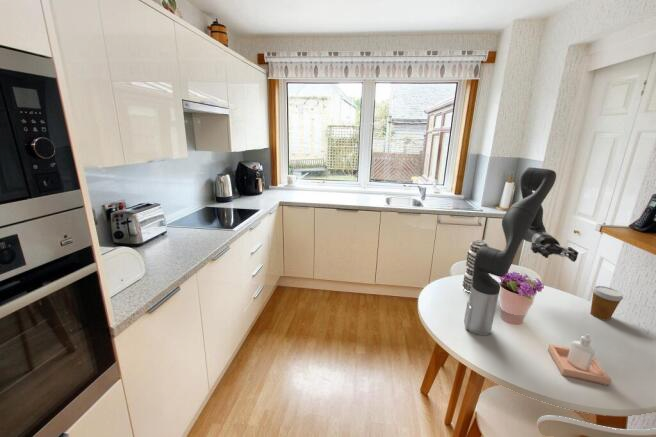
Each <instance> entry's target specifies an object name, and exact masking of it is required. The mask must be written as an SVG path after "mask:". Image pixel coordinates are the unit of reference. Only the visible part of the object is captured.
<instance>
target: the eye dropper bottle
mask: <svg viewBox="0 0 656 437" xmlns="http://www.w3.org/2000/svg"><path fill="white" fill-rule="evenodd" d="M589 336H590V334H589V333H586V334H584V335H582V336H581V337H580V340H573V341H572V343H571V345H570V347H569V348H570V351H569V354H568V357H567V361H568V362H569V363H570V364H571V365H573V366H574V367H576V368H578V369H580V370H583V371H587V370H589V368H590V365H591V362H592V359H593V357H594V355H595V349H594V347H592V346H591V342H592V339H591V338H590V337H589Z"/></svg>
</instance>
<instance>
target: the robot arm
mask: <svg viewBox="0 0 656 437" xmlns="http://www.w3.org/2000/svg"><path fill="white" fill-rule="evenodd" d="M556 180H557V173H556V172H555V170H553V169H548V168H538V167H526V168H525V169H524V170H523V171H522V174H521V177H520V181H519V182H520V184H519V185H520V193H521V198H522V199H519V200H518V201H516V202H514V203H512V204H511V205H510V206H509V208H508V209H507V210H506V212H505V214H504V215H503V217H502V220H501V226H502V232H503V234H504V239H505V242H506V243H505V248H504V250H500V249H497V248H493V247H490V246H489V247H487V246H482V247H480V248H479V250H478V251H477V254H476V257H475V263H474V271H473V278H472V288H471V293H469V300H467V302H466V309H465V312H464V318H463V319H464V320H463V322H464V323H463V324H464V328H465V330H466V331H470V332H471V333H472V334H476V335H479V336H488V335H490V334H491V332H492V328H493V324H494V318H495V314H496V310H497V309H496V308H497V304H498V301H499V297H500V291H501V284H500V283H499V281H497V280H496V279H494V277H492V276H496V277H499V278H501V277H503V278H504V277H505V276H506V275H507V274H508V272H509V270H510V269H511V266H512V264H513V262H514V259H515V257H516V255H517V251H518V250H519V247H520V246H521V243H522V241H523V240H524V241H525V242H529V243H531V244H530V250H531V251H532V253H533V254H539V255H541V256H542V257H543V258H545V259H549V256H551V255H555V256H559V257H562V258H568V260H570V261H571V262H576V261H577V259H578V255H579V251H577V250H576V249H574V248H573V247H571V246H567V248H566V247H564V246H562V245H561V244H560V242H559V241H558V239H556V238H555V237H553V235H551V234H549V233H548V232H547V230H546V227H545V225H544V221H543V218H544V208H543V203H544V201H545V199H546V197H547V196H548V195H549V193H550V191H552V189H553V187H554V185H555V182H556Z"/></svg>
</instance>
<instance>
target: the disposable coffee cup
mask: <svg viewBox="0 0 656 437" xmlns="http://www.w3.org/2000/svg"><path fill="white" fill-rule="evenodd" d="M623 299H624V297H623V293H622V292H621V291H619V290H617V289H614V288H612V287H609V286H604V285H595V286H594V288H592V299H591V306H590V315H591V316H593V317H594V318H597V319H600V320H603V321H611V318H612V316H613V314H614V313H615V311H616V309H617V308H618V306H619V304H620V302H621V301H622V300H623Z"/></svg>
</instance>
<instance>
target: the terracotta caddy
mask: <svg viewBox="0 0 656 437" xmlns="http://www.w3.org/2000/svg"><path fill="white" fill-rule="evenodd" d="M570 348H571V347H564V346H560V345H555V344H549V343H548V347H547V352H548V354H549V355H550V356H551V358H552V360H553V362H554V364H555V366H556V367H557V369H558V371H559V372H560V374H561V376H565V377H569V378H573V379H577V380H582V381H586V382H591V383H594V384H600V385H603V386H609V384H610V382H611V378H610V376H609V375H608V373H606V371H605V370H604V368H603V367H602V366H601V365H600V363H599V361H598V360H596V357H594V356H593V359H592V362H591V365H590V368H589V370H587V371H583V370H580V369H578V368H576V367H574V366H573V365H571V364H570V363H569V362H568V361H567V357H568V354H569V351H570Z"/></svg>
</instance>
